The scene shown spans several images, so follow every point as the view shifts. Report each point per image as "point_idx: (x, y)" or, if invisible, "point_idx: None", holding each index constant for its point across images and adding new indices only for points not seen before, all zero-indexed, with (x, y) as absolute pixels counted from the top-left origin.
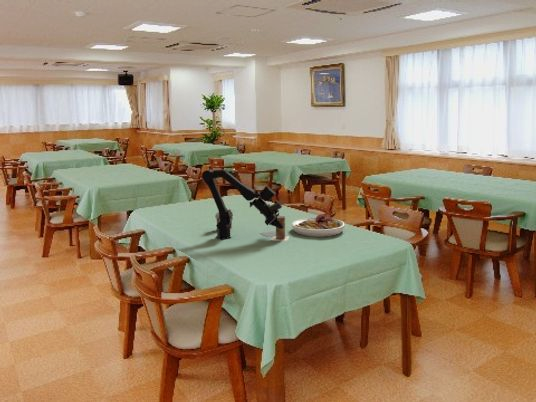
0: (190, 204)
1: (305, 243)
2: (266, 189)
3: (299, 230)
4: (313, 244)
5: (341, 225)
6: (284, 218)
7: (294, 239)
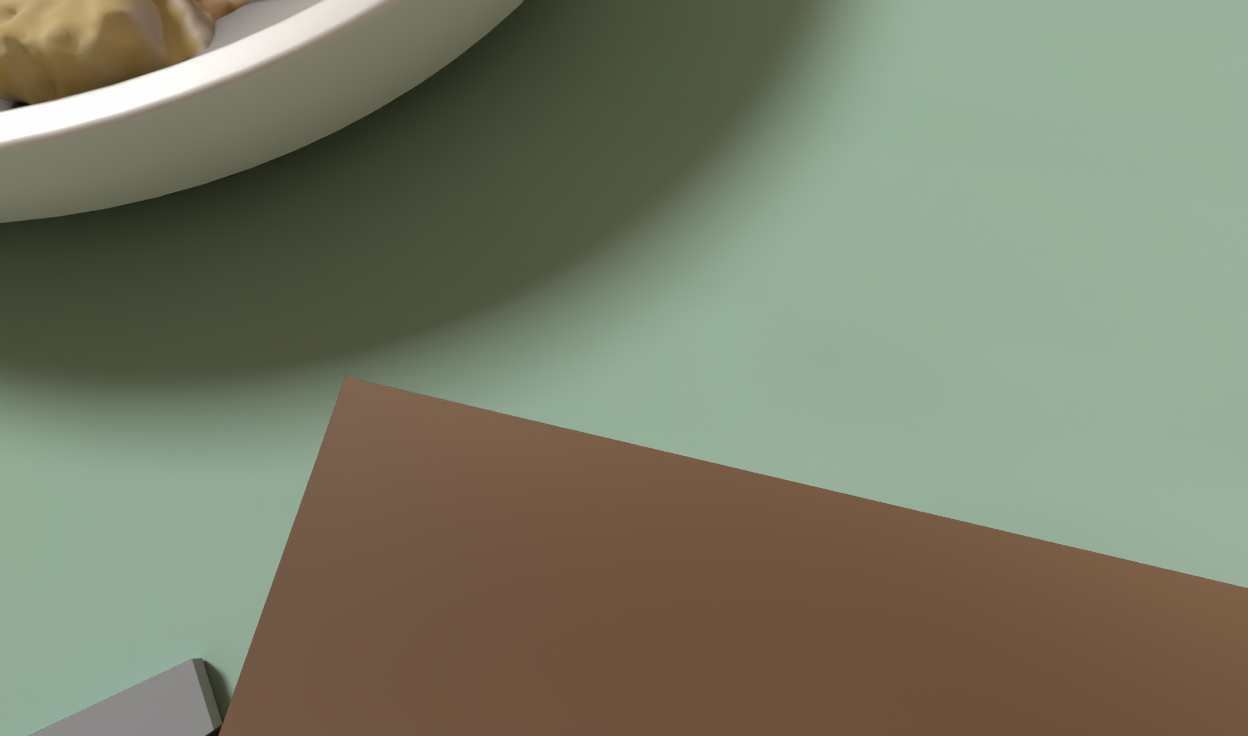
0: None
1: (1124, 151)
2: None
3: (363, 84)
4: (1201, 11)
5: None
6: (947, 541)
7: (737, 344)
